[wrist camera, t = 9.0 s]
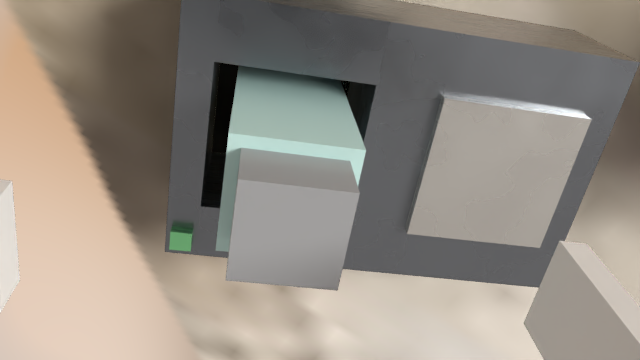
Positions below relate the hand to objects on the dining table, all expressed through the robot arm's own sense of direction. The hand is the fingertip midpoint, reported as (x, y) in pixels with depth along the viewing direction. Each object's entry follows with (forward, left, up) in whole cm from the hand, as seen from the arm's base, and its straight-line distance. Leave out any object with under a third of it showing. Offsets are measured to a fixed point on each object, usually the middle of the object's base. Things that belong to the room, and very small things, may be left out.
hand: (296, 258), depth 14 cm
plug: (0, 0, -13) cm, 13 cm away
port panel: (0, +4, -13) cm, 13 cm away
